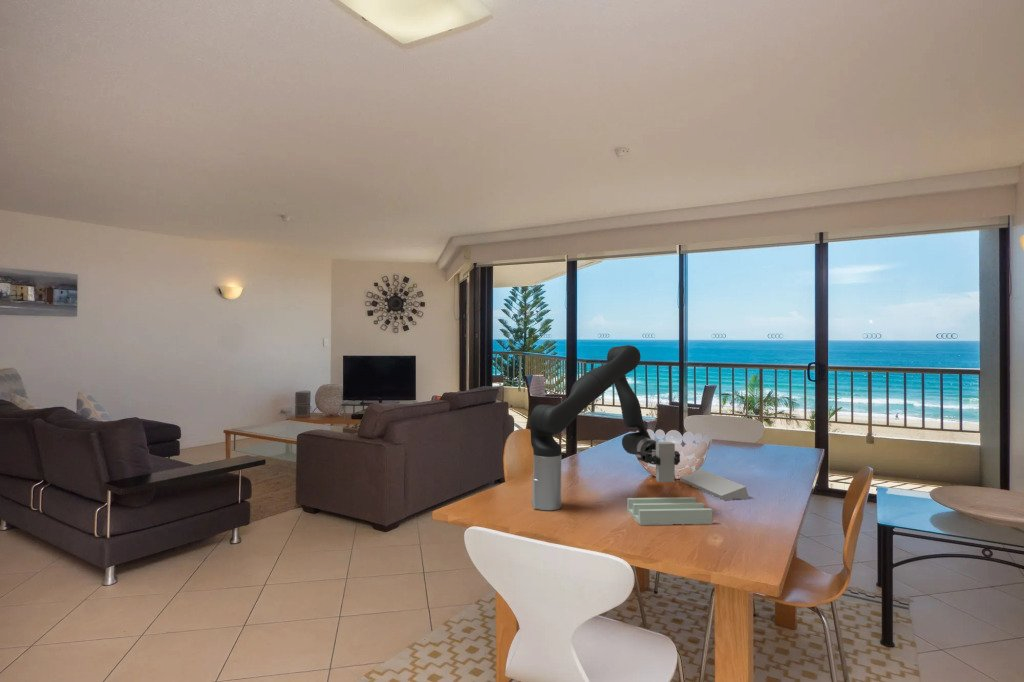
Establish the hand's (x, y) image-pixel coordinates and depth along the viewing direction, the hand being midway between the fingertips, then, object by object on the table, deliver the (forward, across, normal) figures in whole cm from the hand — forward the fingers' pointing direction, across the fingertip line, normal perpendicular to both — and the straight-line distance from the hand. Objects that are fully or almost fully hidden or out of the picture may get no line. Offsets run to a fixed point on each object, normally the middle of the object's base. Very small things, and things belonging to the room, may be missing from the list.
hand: (668, 461), depth 172 cm
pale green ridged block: (0, 0, +17) cm, 17 cm away
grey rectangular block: (-3, 0, +7) cm, 7 cm away
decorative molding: (-34, +27, +18) cm, 47 cm away
